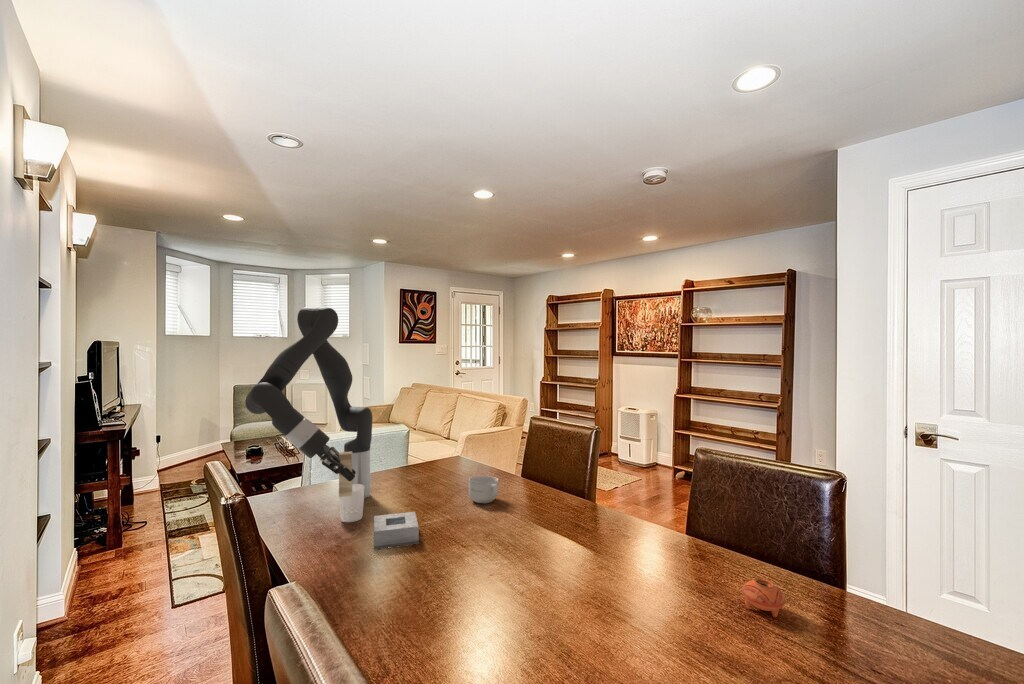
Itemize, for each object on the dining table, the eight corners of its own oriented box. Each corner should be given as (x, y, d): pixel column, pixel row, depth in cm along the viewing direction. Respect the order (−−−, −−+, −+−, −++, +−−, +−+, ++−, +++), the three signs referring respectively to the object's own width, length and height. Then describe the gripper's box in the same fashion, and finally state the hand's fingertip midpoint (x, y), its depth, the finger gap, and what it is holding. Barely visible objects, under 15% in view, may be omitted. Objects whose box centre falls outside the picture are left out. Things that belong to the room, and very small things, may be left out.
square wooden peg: (339, 493, 132) (339, 452, 132) (352, 492, 133) (352, 451, 133) (339, 497, 129) (339, 454, 129) (351, 495, 130) (351, 454, 130)
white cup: (368, 514, 150) (368, 484, 150) (357, 523, 142) (357, 491, 142) (345, 513, 151) (345, 483, 151) (334, 522, 143) (334, 491, 143)
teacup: (464, 498, 166) (464, 476, 166) (491, 494, 170) (491, 472, 170) (477, 510, 153) (477, 487, 153) (507, 506, 157) (507, 482, 158)
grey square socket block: (374, 532, 135) (374, 515, 135) (415, 527, 139) (414, 511, 139) (374, 549, 124) (374, 531, 124) (418, 544, 127) (418, 526, 127)
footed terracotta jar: (742, 593, 101) (750, 565, 100) (782, 614, 96) (790, 585, 95) (734, 608, 94) (742, 578, 94) (775, 631, 90) (784, 600, 89)
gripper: (314, 432, 122) (362, 473, 126) (320, 423, 136) (363, 461, 139) (293, 453, 121) (341, 494, 124) (301, 442, 134) (345, 479, 138)
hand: (353, 476), depth 132 cm, fingers closed on square wooden peg, 3 cm apart
